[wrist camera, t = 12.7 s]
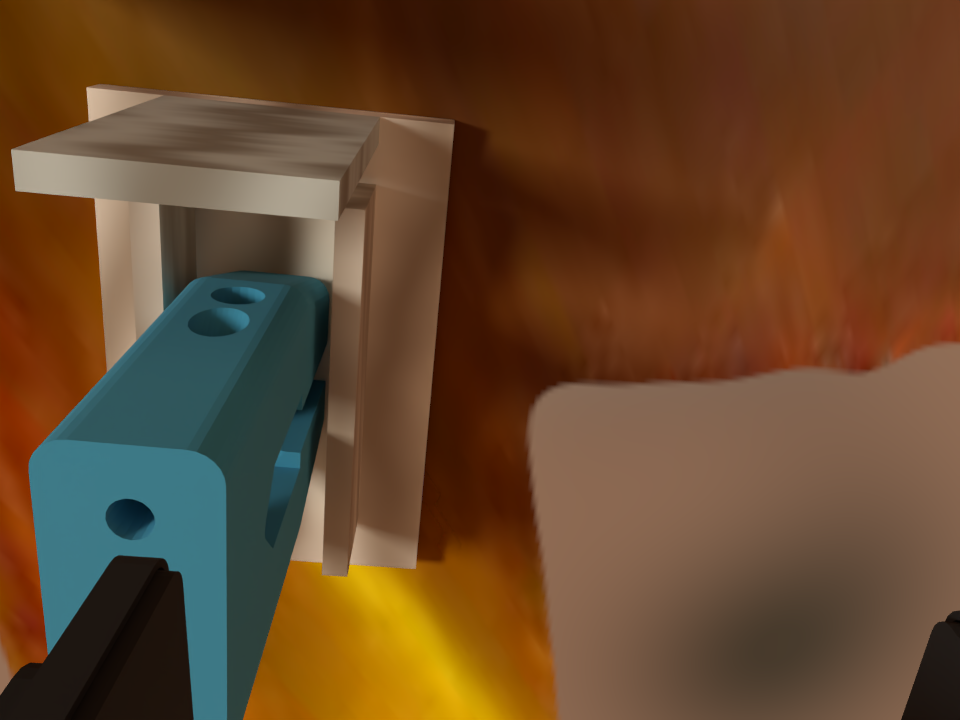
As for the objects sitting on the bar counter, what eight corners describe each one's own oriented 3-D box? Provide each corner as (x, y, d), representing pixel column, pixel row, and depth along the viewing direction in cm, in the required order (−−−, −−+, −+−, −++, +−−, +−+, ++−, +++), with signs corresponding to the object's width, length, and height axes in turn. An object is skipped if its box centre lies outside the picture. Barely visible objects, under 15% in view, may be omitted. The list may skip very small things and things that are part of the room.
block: (223, 232, 40) (25, 436, 22) (332, 243, 41) (225, 453, 22) (224, 458, 45) (61, 782, 27) (321, 466, 45) (227, 792, 27)
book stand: (454, 119, 40) (451, 191, 26) (416, 552, 49) (399, 781, 35) (99, 84, 39) (-108, 138, 25) (129, 532, 48) (-9, 759, 34)
